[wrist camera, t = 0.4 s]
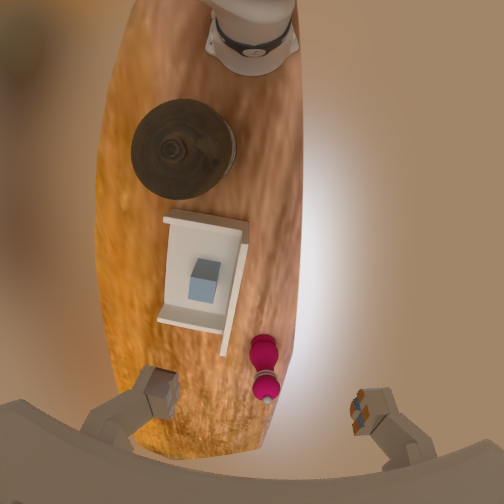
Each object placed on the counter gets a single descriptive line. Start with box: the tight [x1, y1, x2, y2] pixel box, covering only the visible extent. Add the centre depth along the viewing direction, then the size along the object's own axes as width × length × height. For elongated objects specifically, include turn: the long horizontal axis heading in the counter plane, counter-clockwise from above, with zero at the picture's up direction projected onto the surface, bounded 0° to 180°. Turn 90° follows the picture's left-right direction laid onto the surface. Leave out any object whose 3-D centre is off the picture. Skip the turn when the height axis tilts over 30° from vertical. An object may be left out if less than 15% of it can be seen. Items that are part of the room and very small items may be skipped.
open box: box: [157, 208, 249, 356], centre depth 54 cm, size 24×16×14 cm, turn 169°
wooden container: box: [131, 99, 237, 200], centre depth 41 cm, size 15×15×22 cm
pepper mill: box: [249, 335, 280, 404], centre depth 59 cm, size 7×7×20 cm
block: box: [188, 258, 221, 304], centre depth 55 cm, size 5×5×9 cm
